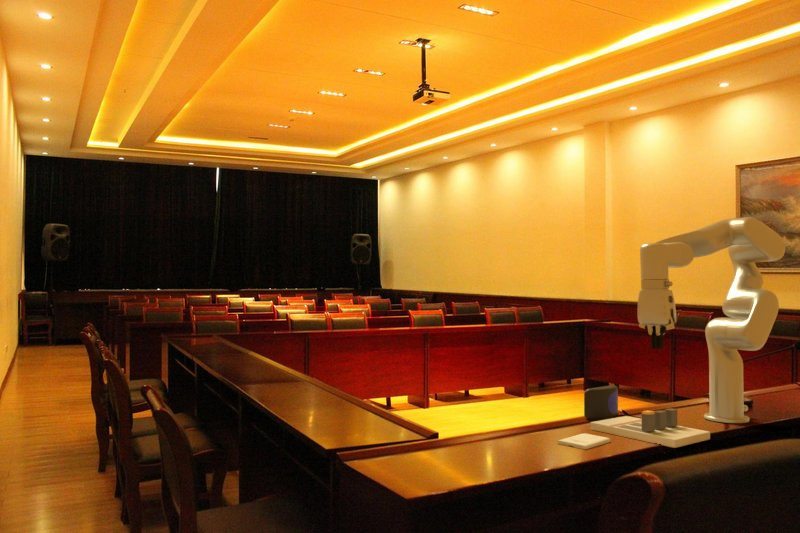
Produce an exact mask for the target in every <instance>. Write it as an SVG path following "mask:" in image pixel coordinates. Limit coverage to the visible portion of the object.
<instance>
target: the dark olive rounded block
mask: <svg viewBox="0 0 800 533" xmlns="http://www.w3.org/2000/svg"><path fill="white" fill-rule="evenodd" d="M583 393H584V394H583V402H584V404H583V414H584V415H583V416H584V418H585V419H587V420H589V421H590V420H592V421H600V420H606V419H611V418H616V417H617V416H618V414H619V387H618V386H617V385H614V384H612V385H604V386H598V387H592V388H587V389H585V391H584V392H583Z"/></svg>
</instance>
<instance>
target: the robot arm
mask: <svg viewBox="0 0 800 533" xmlns="http://www.w3.org/2000/svg"><path fill="white" fill-rule="evenodd" d="M727 248H728V249H727ZM724 249H727V250H728V255H729V258H730V261H731V265H732V266H733V278H732V280H731V283H730V286H729V287H728V290H727V292H726V295H725V297H724V299H723V302H722V307H721V309H722V312H723V314H724V315H725V316H726V317H715V318H713V319H711V320H710V321H709V322H708V323H707V324H706V326H705V330H704V333H705V334H704V335H705V340H706V343H707V349H708V370H709V371H708V373H709V375H708V378H709V379H708V381H709V382H708V383H709V384H708V386H709V388H708V389H709V390H708V392H709V394H708V395H709V396H708V397H709V400H708V402H709V405H708V406H709V407H708V408H709V412H705V413H704V414H703V417H704V419H707V420H708V421H711V422H717V423H718V422H719V423H725V424H747V423H749V422H750V417H749V416H747V415H745V414H744V412H747V411H748V410H749V406H748V405H746V404H744V403H745V402H744V401H745V400H744V396H745V395H744V391H745V390H744V362H743V361H744V360H743V358H742V356H741V353H739V351H738V350H740V351H750V352H751V351H752V352H753V351H758V350H761V349H763V347H764V345H765V344H766V343H767V340H768V338H769V336H770V334H771V331H772V329H773V326H774V323H775V322H776V318H778V313H779V308H780V307H779V306H780V305H779V304H780V303H779V299H778V297H777V295H776V293H774V292H773V291H771V290H770V289H763V288H762V287H763V284H764V278H763V275H762V273H761V271H760V270H759V268H758V266H757V265H756V263H763V262H764V263H767V262H769V263H770V262H777V261H779V260H781V259H782V258H783V257H784V255H785V253H786V244H785V241H784V239H783V238H782V236H781V235H780V234H779V233H777V232H776V231H775V230H773V229H772V228H770V227H769V226H768V225H767V224H765V223H764V222H762V221H761V220H759V219H757V218H755V217H752V216H746V217H736V218H735V217H733V218H725V219H721V220H719V221H716V222H714V223H712V224H708V225H706V226H704V227H701V228H698V229H695V230H691V231H687V232H685V233H681V234H678V235H673V236H669V237H667V238H663V239H661V240H659V241H656V242H654V243H652V242H651V243H644V244H642V245H641V246H640V248H639V256H640V258H639V262H640V264H639V265H640V288H641V289H640V290H639V293H638V297H637V322H638V327H639V328H641V329H645V330H646V331H647V332H648V335H650V346H651V350H661V349H663V348H664V347H663V346H664V335H665V334H666V332H667V331H669V330H673V329H675V328H676V327H675V324H676V323H677V309H676V308H677V307H676V302H675V297H674V294H673V290H671V289H670V287H673V281H670V278H669V276H670V275H669V269H676V268H684V267H688V266H689V265H690V264H691V263H692V262H693V261H694V259H695V258H700V257H706V256H710V255H712V254H715V253H718V252H720V251H723V250H724Z"/></svg>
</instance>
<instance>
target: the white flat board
mask: <svg viewBox="0 0 800 533" xmlns="http://www.w3.org/2000/svg"><path fill="white" fill-rule="evenodd" d="M589 424H590V430H591V431H597V432H601V433H606V434H610V435H615V436H619V437H624V438H628V439H632V440H637V441H642V442H646V443H651V444H655V443H657V444H656V445H659V444H661V445H660V446H664V447H668V448H673V449H676V448H680V447H685V446H689V445H693V444H696V443H701V442H705V441H709V440H711V431H708V430H703V429H697V428H692V427H687V426H681V425H677V426H674V427H669V426H666V428H664V429H656V428H655V431H650V432H646V431H642V418H639V417H634V416H629V415H624V416H616V417H613V418H608V419H600V420H594V421H591V422H590V423H589Z"/></svg>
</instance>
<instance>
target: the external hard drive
mask: <svg viewBox="0 0 800 533" xmlns="http://www.w3.org/2000/svg"><path fill="white" fill-rule="evenodd" d="M556 443H557V445H561V446H567V447H573V448H576V449H580V450H588V449H592V448H596V447H598V446H601V445H605V444H608V443H611V438H609V437H607V436H606V437H605V436H601V435H596V434H591V433H586V432H585V433H584V432H583V433H580V434H576V435H573V436H570V437H569V436H568V437H565V438H562V439H559V440H557V441H556Z"/></svg>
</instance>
